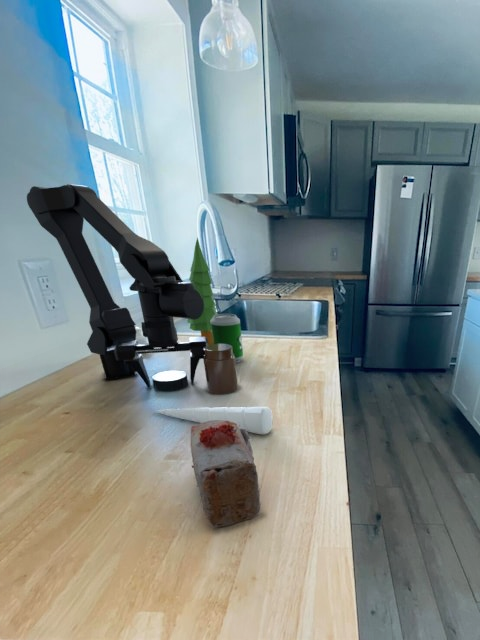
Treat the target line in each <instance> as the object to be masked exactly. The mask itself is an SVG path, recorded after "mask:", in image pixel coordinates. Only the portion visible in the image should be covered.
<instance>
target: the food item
mask: <svg viewBox="0 0 480 640" xmlns="http://www.w3.org/2000/svg"><path fill="white" fill-rule="evenodd" d="M239 426H240V425H239ZM250 439H251V437H250V435H249V432H247V431H246V430H245V429H239V428H238V426H237V424H236V423H234V422H230V421H225V420H211V421H207V422H203V423H196V424H192V425H191V427H190V452H191V458H192V459H191V462H192V465H191V468H192V469H193V474H194V478H195V481H196V487H197V489H198V494H199V498H200V502H201V505H202V509H203V511H204V514H205V516H206V519H207V520H208V522H209V524H210V525H211V527H212V528H213V529H214V528H219V527H220V528H221V527H227V526H231V525H233V524H236V523H240V522H242V521H246V520H252V519H255V518H256V517H258V516H259V514H260V512H261V502H260V501H261V500H260V497H261V494H260V490H259V475H258V472H257V466H256V465H255V461H254V460H255V457H254V456H253V455H254V451H253V447H252V444H251V441H250Z"/></svg>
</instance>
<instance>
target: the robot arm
mask: <svg viewBox="0 0 480 640" xmlns="http://www.w3.org/2000/svg"><path fill="white" fill-rule="evenodd" d="M26 202H27V203H26V204H27V205H28V207H29V209H30V210H31V212H32V214H33V215H34V217H35V218H36V220H37V222H38V223H39V226H41V227H42V229H44V230H45V231H47V232H48V233H49V234H50V235H51V236H53V237H54V238H55V240H56V241H57V243H58V245H59V247H60V249H61V251H62V253H63V255H64V257H65V259H66V261H67V263H68V265H69V267H70V269H71V271H72V273H73V276H74V277H75V280H76V281H77V284H78V285H79V286H78V287H80V289H81V292H82V294H83V296H84V298H85V300H86V302H87V304H88V306H89V308H90V310H89V311H90V312H89V321H88V323H89V326H90V328H91V334H90V336H89V338H88V340H87V342H86V346H87V347H88V350H89V351H90V353H91V354H96V355H99V357H100V362H101V365H102V369H103V373H104V380H106V381H109V380H116V379H123V378H125V379H126V378H131V377H136V376H137V375H138V376H139V377H140V378H141V380H142V381H143V382H144V384H145V385H146V387H147V388H149V389H150V388H151V387H152V386H151V380H150V377H149V374H148V372H147V368H146V365H145V363H144V358H143V354H159V353H173V352H176V353H177V352H188V351H189V363H190V364H189V367H190V368H189V370H190V371H189V372H190V375H189V376H190V384H191V385H194V381H195V376H196V373H197V372H196V371H197V368H198V365H199V362H200V360H203V357H204V356H205V353H204V350H203V349H204V347H205V346H207V345H209V343H208V339H207V338H206V337H201V336H194V337H193V336H192V337H191V336H190V337H189V341H181V342H179V338H178V331H177V328H176V326H175V321H174V318H179V319H186V320H188V319H194V320H196V319H198V318H199V317H200V316H201V315H202V313H203V310H204V301H203V299H202V297H201V295H200V293H199V292H198V291H197V290H195V289H194V284H193V282H191V281H185V282H184V281H183V279H182V277H181V275H180V274H179V273H178V271H177V270H176V269H175V267H174V266H173V263H171V261H170V259H169V256H168V254H167V253H166V251H165V250H163V249H162V248H161V247H159V246H158V245H157V244H155V243H154V242H152V241H151V240H149V239H146V238H145V237H142V236H140V235H138V234H137V233H135V232H134V231H133V230H132V229H131V228H130V227H129V226H128V225H127V224H126V223H125V222H124V221H123V220H122V219H121V218H120V217H119V216H118V215H117V214H116V213H114V211H113V210H112V209H111V208H109V206H107V204H105V202H103V201H102V199H100V197H98V195H97V192H96V191H95V190H94V189H93V188H91V187H89V186H87V185H80V184H73V183H66V184H64V185H59V186H55V187H43V186H35V185H34V186H31V188H30V189H29V192H27V194H26ZM84 220H85V221H86V222H87V223H88V224H89V225H90V226H91V227H92V228H93V229H94V230H95V231H96V232H97V233H98V234H99V236H101V237H102V238H103V239H104V240H105V241H106V242H107V243H108V244H109V245H111V247H112V248H113V249H114V250H115V251H116V252H117V255H118V259H119V263H120V264H121V265H122V267H123V268H124V269H125V270H126V272H127V273H128V274H129V276H130V277H131V278H132V279H134V280H133V282H132V283H131V285H130V286H129V290H130V291H132V292H137V294H138V300H139V304H140V309H141V313H142V318H143V319H142V320H143V321H141V329H142V332H143V336H144V337H147V338H148V342H149V343H148V344H143V345H138V343H137V340H136V328H135V327H136V322H134V320H133V318H132V316H131V312H130V310H129V309H128V308H127V307H126V306H125V307H120V306H119V304H117V303H116V302H115V301H114V299H113V297H112V295H111V292H110V290H109V288H108V286H107V284H106V281H105V279H104V277H103V276H102V273H101V271H100V268H99V267H98V264H97V263H96V261H95V258H94V256H93V253H92V252H91V249H90V248H89V245H88V243H87V242H86V239H85V237H84V235H83V229H84V222H85V221H84ZM136 373H137V375H136Z"/></svg>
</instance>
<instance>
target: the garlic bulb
mask: <svg viewBox="0 0 480 640" xmlns="http://www.w3.org/2000/svg"><path fill="white" fill-rule="evenodd" d="M135 328H136V340H137V343H138V345H143V344H149V342H148V338H147V337H144V336H143V332H142V327H140V326H135Z"/></svg>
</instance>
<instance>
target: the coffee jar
mask: <svg viewBox="0 0 480 640" xmlns="http://www.w3.org/2000/svg"><path fill="white" fill-rule="evenodd" d="M203 350H204V353H205V355H204V357H203V359H202V360H203V367H204V373H205V380H206V387H207V391H208V392H209V393H210V394H214V395H227V394H231V393H234V392H236V391H237V390H238V389H239V385H238V373H237V365H236V364H237V363H235V355H234V354H233V353H232V346H231V345H228V344H211V345H207V346H205V347H204V349H203Z"/></svg>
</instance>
